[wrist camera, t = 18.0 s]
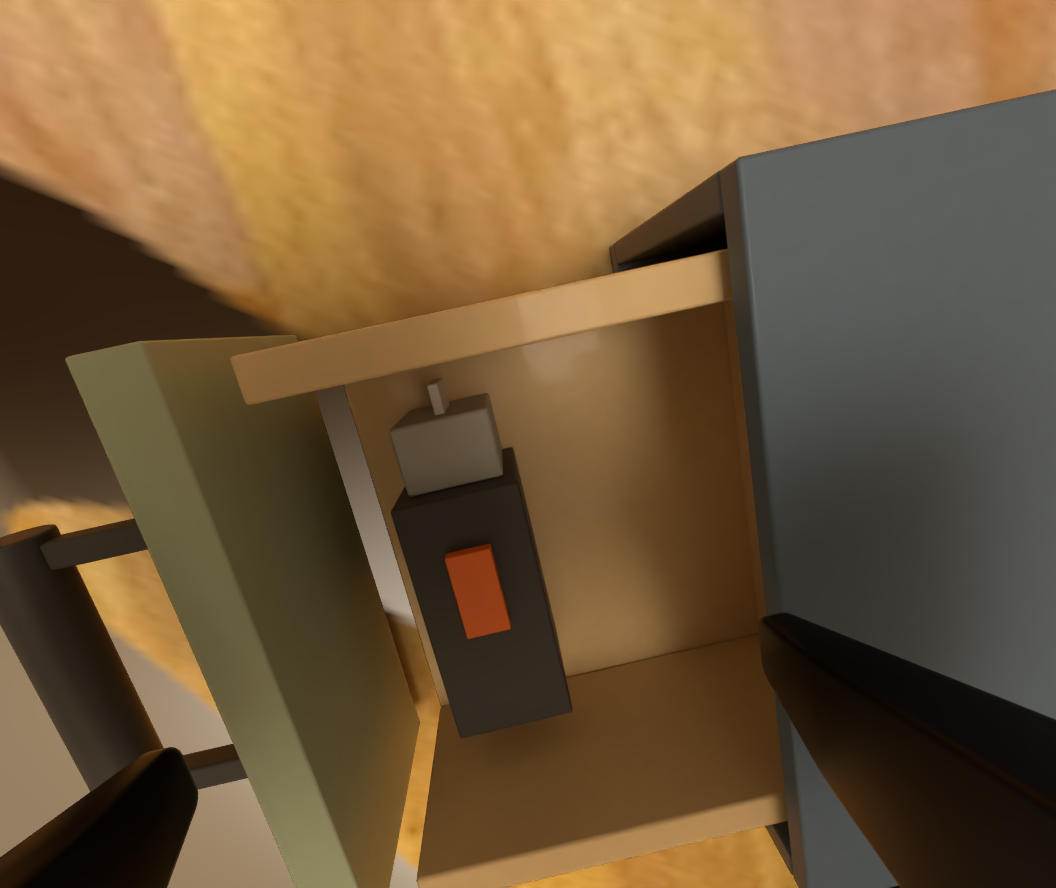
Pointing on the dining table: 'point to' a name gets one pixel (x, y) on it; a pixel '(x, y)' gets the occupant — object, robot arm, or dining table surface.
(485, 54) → the dining table surface
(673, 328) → the drawer
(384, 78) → the dining table surface
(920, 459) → the cabinet
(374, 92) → the dining table surface
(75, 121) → the dining table surface
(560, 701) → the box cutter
